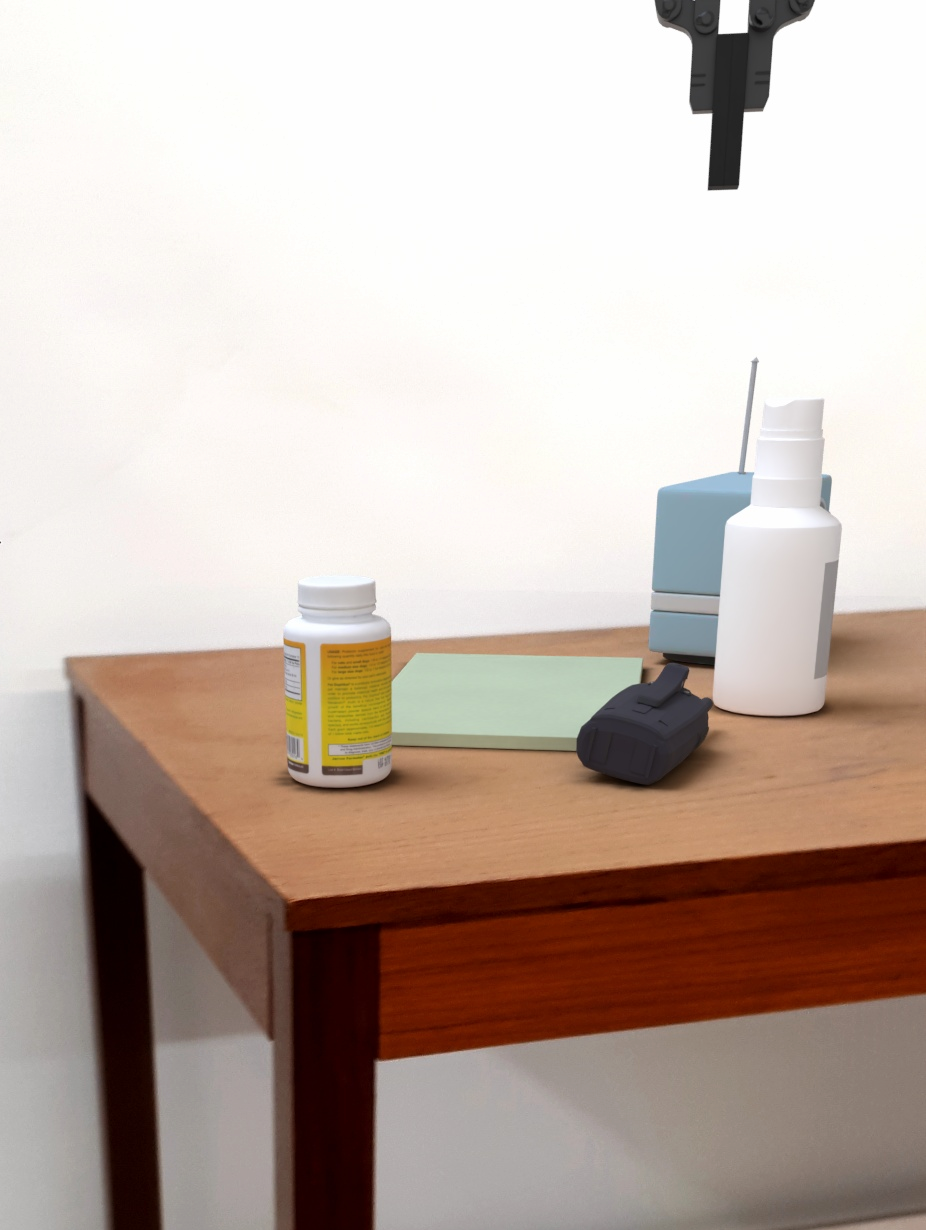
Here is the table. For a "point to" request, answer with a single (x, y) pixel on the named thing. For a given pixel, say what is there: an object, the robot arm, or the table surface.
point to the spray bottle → (779, 574)
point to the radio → (697, 555)
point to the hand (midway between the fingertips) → (723, 187)
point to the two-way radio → (645, 729)
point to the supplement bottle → (338, 684)
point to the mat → (503, 699)
